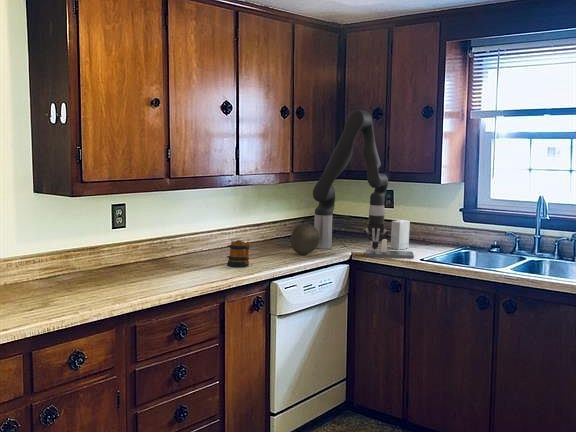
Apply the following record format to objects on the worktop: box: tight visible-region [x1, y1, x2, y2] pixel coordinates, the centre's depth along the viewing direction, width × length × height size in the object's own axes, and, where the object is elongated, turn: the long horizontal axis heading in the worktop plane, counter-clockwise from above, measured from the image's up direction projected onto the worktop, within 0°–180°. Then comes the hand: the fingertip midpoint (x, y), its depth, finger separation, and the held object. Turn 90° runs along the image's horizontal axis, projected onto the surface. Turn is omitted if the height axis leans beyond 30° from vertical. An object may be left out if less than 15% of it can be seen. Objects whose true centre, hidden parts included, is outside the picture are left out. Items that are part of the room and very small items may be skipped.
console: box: [365, 241, 415, 259], centre depth 315 cm, size 23×12×6 cm, turn 83°
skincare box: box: [390, 219, 411, 251], centre depth 336 cm, size 8×6×15 cm
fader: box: [380, 238, 388, 253], centre depth 315 cm, size 2×3×6 cm
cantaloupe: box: [290, 223, 320, 256], centre depth 311 cm, size 14×14×15 cm
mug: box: [226, 239, 251, 269], centre depth 280 cm, size 13×10×12 cm
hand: (375, 249), depth 315 cm, fingers closed
